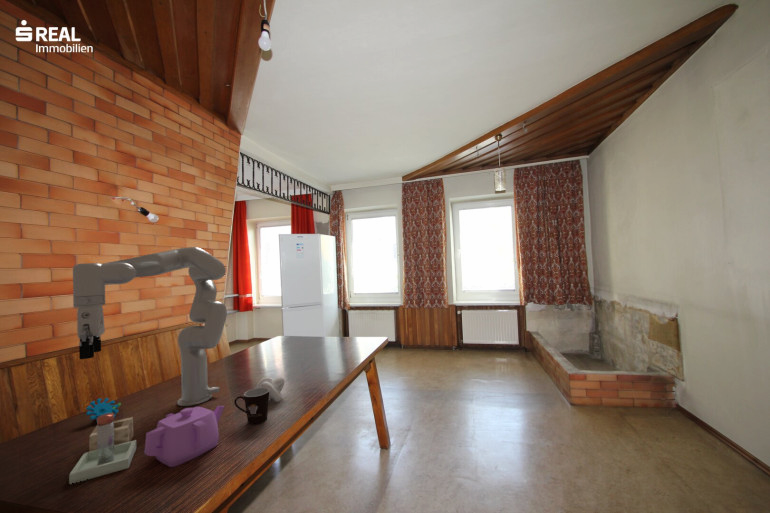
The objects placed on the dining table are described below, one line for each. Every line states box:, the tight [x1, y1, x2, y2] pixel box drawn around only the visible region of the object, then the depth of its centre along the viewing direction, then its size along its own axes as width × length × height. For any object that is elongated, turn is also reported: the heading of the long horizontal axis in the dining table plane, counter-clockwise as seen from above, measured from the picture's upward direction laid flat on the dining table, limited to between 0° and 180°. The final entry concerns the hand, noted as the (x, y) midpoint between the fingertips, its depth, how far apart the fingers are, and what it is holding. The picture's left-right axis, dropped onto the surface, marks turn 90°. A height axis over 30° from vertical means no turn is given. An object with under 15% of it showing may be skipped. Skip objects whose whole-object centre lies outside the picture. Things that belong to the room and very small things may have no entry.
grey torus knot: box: [254, 376, 286, 403], centre depth 130 cm, size 11×12×9 cm
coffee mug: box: [234, 387, 270, 426], centre depth 113 cm, size 12×9×10 cm
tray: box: [68, 439, 137, 485], centre depth 89 cm, size 12×12×2 cm
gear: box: [85, 397, 122, 422], centre depth 120 cm, size 11×6×10 cm
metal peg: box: [96, 412, 115, 465], centre depth 90 cm, size 4×4×13 cm
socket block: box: [88, 416, 134, 452], centre depth 100 cm, size 9×9×6 cm
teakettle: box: [143, 405, 225, 468], centre depth 95 cm, size 17×17×12 cm
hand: (90, 355), depth 100 cm, fingers open, 9 cm apart
